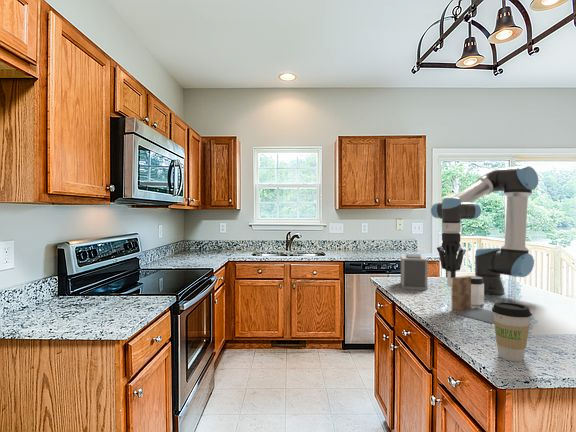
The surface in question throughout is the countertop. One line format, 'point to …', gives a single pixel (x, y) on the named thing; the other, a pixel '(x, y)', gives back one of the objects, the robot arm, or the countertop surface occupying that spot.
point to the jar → (477, 290)
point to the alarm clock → (414, 272)
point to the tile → (460, 293)
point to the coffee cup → (511, 329)
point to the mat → (478, 314)
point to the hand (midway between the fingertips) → (450, 285)
